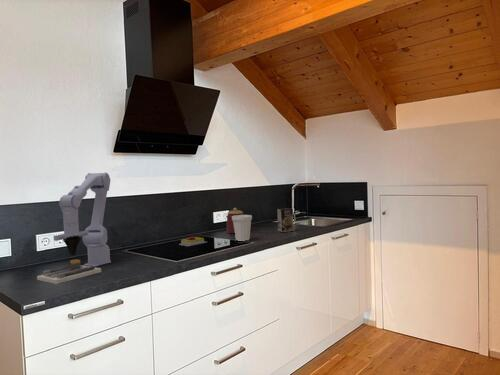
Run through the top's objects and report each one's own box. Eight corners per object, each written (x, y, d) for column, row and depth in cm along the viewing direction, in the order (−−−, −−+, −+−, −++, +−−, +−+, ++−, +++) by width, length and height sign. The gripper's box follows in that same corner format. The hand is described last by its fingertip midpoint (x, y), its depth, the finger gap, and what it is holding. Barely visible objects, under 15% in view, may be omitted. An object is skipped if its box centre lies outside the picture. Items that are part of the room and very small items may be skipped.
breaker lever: (76, 268, 159) (75, 259, 159) (80, 269, 157) (80, 260, 157) (70, 270, 156) (70, 260, 156) (75, 271, 155) (74, 261, 155)
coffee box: (282, 233, 247) (281, 209, 246) (277, 232, 252) (276, 208, 252) (293, 231, 250) (293, 208, 250) (289, 230, 256) (288, 207, 256)
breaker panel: (82, 268, 167) (81, 261, 167) (101, 271, 159) (100, 264, 159) (37, 279, 150) (36, 272, 150) (56, 284, 142) (55, 276, 142)
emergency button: (178, 238, 219) (198, 234, 229) (178, 245, 219) (198, 241, 229) (187, 239, 212) (207, 235, 223) (187, 247, 212) (207, 243, 223)
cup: (255, 241, 218) (254, 216, 218) (234, 243, 215) (233, 217, 215) (250, 238, 230) (249, 214, 230) (230, 240, 227) (229, 215, 227)
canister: (248, 231, 260) (247, 206, 260) (240, 234, 248) (239, 208, 248) (231, 231, 265) (231, 206, 265) (223, 233, 254) (222, 208, 253)
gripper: (59, 225, 147) (61, 259, 147) (92, 221, 159) (93, 252, 160) (50, 225, 151) (52, 257, 151) (82, 220, 163) (84, 250, 163)
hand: (72, 254), depth 156 cm, fingers closed
